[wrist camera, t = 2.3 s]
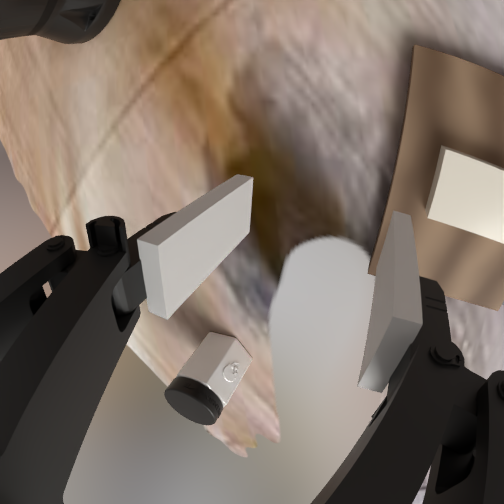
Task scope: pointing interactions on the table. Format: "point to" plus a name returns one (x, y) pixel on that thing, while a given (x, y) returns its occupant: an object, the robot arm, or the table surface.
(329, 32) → the table surface
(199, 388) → the jar
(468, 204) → the cream rectangular block
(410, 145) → the serving board
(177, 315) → the table surface
